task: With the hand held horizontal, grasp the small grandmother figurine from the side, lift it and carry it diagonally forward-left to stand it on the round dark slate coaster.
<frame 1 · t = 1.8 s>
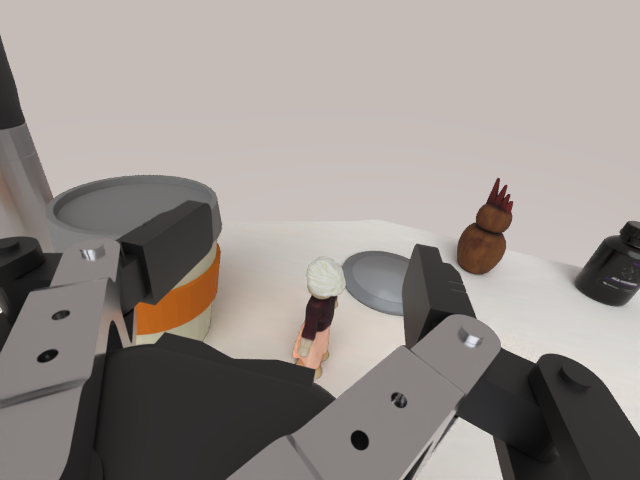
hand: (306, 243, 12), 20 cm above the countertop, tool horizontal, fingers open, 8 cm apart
wooden figurine: (470, 268, 50), on the countertop
grandmother figurine: (310, 365, 30), on the countertop
slate coaster: (388, 281, 44), on the countertop
supplement bottle: (597, 294, 48), on the countertop
reusable coffee cup: (166, 329, 32), on the countertop
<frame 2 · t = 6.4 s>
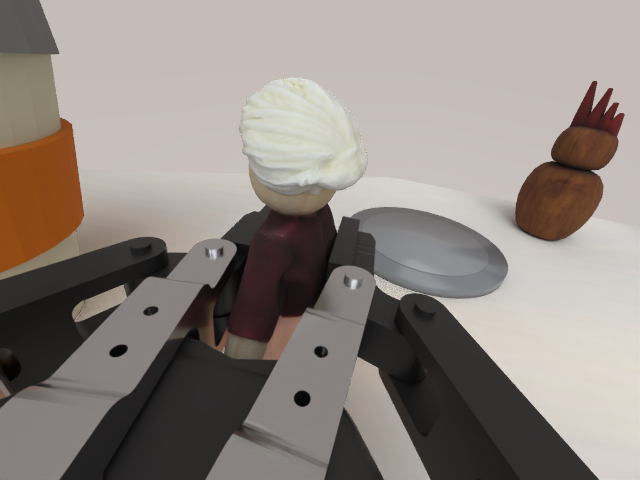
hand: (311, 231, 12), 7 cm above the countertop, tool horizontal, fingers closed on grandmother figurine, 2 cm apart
wooden figurine: (536, 233, 34), on the countertop
grandmother figurine: (279, 399, 13), on the countertop, touching gripper
slate coaster: (419, 246, 27), on the countertop
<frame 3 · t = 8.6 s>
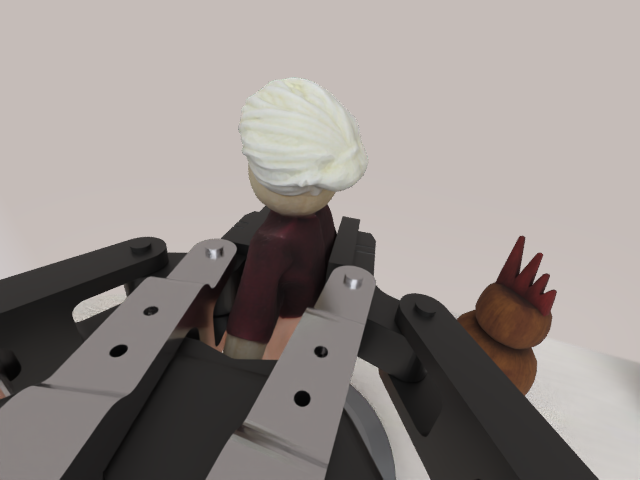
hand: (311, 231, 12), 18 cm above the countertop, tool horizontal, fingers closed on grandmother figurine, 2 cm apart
wooden figurine: (465, 390, 27), on the countertop
grandmother figurine: (278, 399, 13), point 10 cm above the countertop, touching gripper
slate coaster: (292, 459, 21), on the countertop
when the fingers open (8 cm above the countertop, at t = 11.3 s): grandmother figurine stays where it is, resting on slate coaster.
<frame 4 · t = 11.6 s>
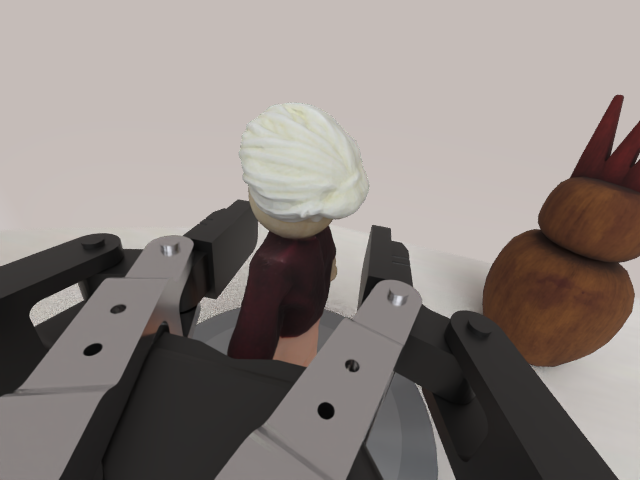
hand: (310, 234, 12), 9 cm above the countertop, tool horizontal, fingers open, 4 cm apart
wooden figurine: (516, 342, 20), on the countertop
grandmother figurine: (276, 408, 14), point 1 cm above the countertop, touching slate coaster
slate coaster: (280, 416, 14), on the countertop
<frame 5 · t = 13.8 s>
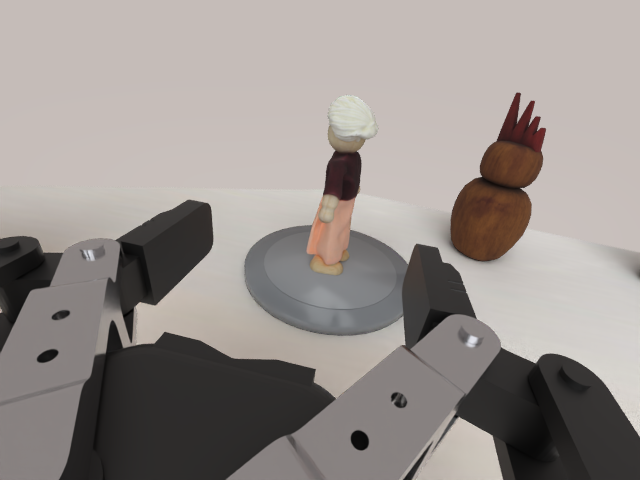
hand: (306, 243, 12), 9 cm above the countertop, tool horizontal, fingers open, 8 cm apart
wooden figurine: (471, 252, 32), on the countertop
grandmother figurine: (327, 265, 25), point 1 cm above the countertop, touching slate coaster
slate coaster: (329, 271, 25), on the countertop
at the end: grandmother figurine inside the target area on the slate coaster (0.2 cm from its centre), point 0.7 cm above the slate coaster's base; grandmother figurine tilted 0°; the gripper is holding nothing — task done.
